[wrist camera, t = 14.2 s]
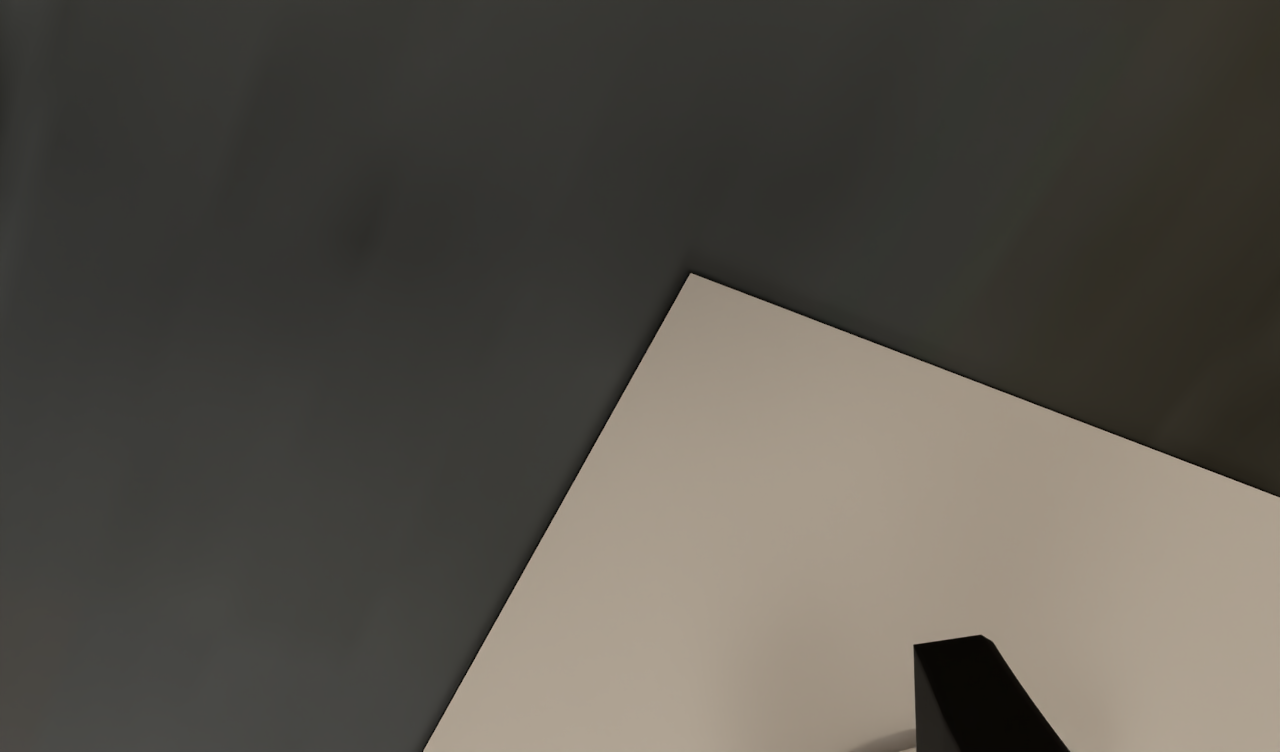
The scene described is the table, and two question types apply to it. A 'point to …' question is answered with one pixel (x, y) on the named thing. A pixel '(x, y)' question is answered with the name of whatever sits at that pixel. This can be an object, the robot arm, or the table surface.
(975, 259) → the table surface
